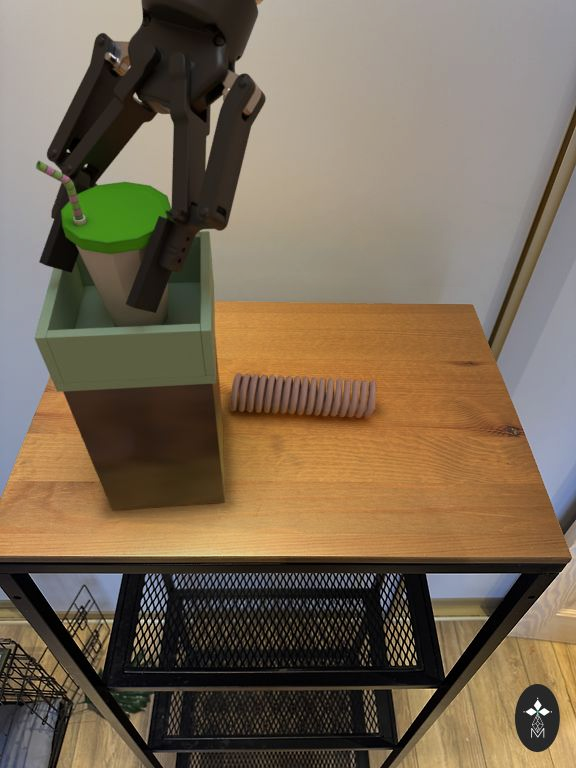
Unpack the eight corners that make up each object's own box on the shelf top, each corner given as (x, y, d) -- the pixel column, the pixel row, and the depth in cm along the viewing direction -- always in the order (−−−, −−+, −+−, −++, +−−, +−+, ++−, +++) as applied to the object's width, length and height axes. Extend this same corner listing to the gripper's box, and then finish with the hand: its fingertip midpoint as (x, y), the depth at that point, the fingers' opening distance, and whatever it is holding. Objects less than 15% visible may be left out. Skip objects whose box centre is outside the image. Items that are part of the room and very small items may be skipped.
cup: (192, 288, 51) (170, 121, 40) (180, 351, 46) (152, 179, 35) (104, 286, 51) (58, 117, 40) (83, 348, 46) (23, 175, 35)
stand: (222, 415, 70) (210, 286, 55) (225, 502, 62) (212, 381, 47) (121, 421, 69) (81, 291, 53) (111, 510, 61) (61, 389, 46)
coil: (379, 372, 69) (230, 364, 69) (382, 399, 66) (226, 391, 66) (374, 399, 72) (231, 392, 72) (376, 426, 69) (227, 419, 69)
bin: (213, 284, 55) (209, 230, 50) (216, 383, 47) (211, 330, 42) (78, 289, 54) (61, 235, 49) (56, 392, 45) (34, 338, 41)
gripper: (357, 43, 40) (233, 345, 43) (130, -12, 46) (37, 252, 49) (326, -33, 33) (180, 336, 36) (64, -85, 39) (-41, 228, 42)
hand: (97, 287), depth 43 cm, fingers closed on cup, 8 cm apart
